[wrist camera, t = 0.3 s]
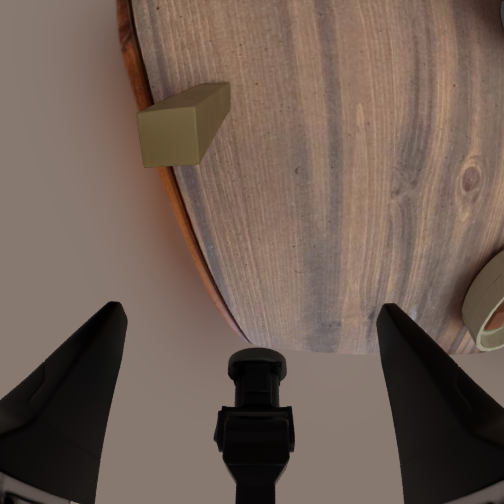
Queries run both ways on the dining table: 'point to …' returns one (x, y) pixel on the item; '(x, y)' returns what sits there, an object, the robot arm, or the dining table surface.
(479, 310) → the bowl
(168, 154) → the stirring stick
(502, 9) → the cup
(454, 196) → the dining table surface
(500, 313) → the terracotta block
